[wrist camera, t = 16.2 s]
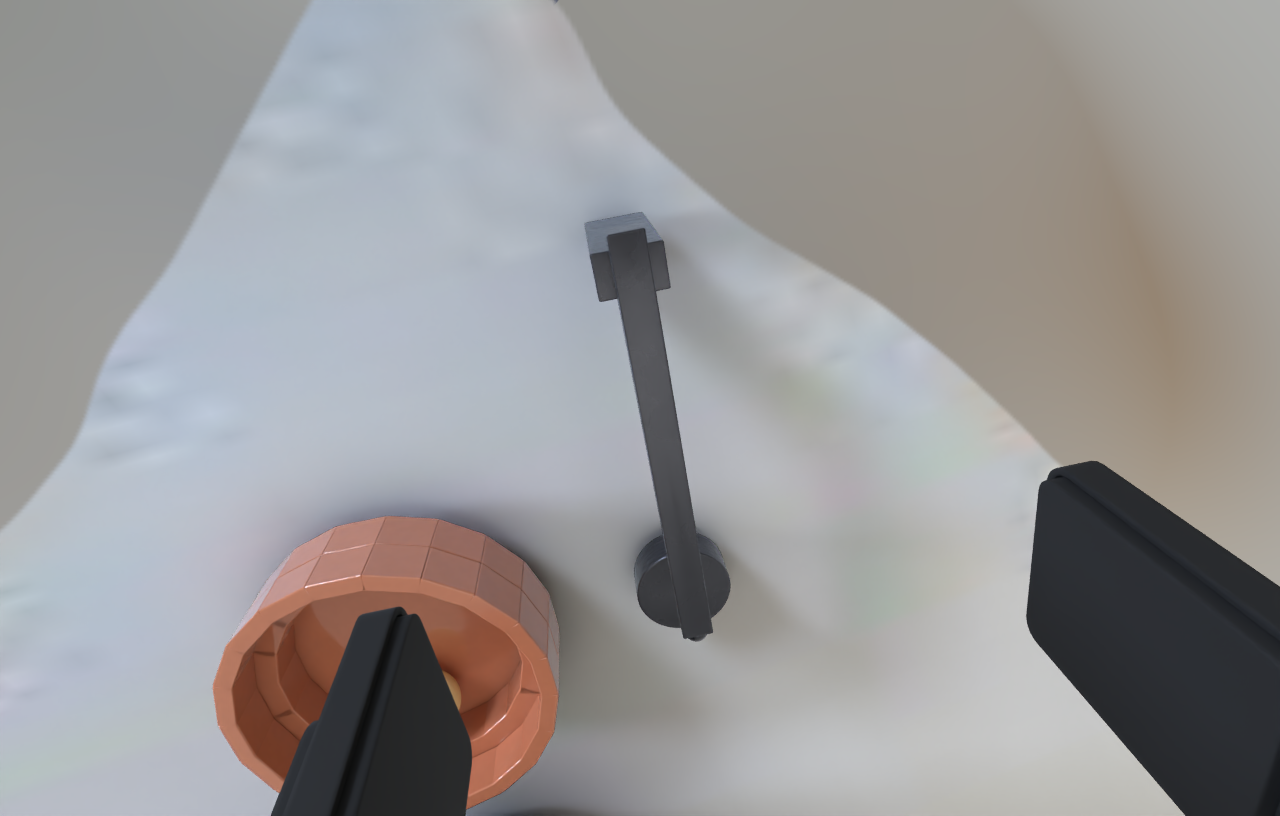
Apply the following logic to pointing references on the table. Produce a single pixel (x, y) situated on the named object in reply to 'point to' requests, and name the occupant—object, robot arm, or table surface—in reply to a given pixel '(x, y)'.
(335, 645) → the bowl
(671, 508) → the black lever handle
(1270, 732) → the robot arm
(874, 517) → the table surface
